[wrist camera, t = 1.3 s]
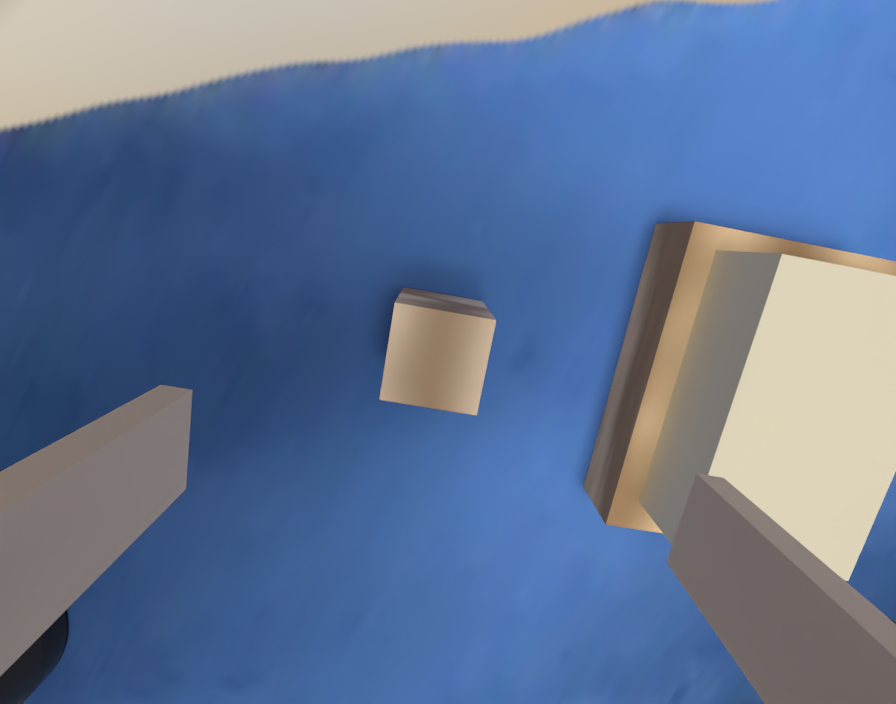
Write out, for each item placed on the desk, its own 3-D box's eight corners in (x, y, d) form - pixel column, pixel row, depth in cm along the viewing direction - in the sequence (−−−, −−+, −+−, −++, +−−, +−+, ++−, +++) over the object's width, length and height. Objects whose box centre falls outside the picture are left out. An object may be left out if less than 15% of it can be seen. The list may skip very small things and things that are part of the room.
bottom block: (581, 483, 34) (605, 524, 29) (652, 223, 30) (694, 221, 25) (741, 508, 35) (790, 552, 30) (831, 259, 31) (906, 263, 26)
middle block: (639, 502, 29) (681, 556, 24) (715, 250, 25) (782, 253, 21) (779, 523, 29) (848, 580, 25) (872, 280, 26) (973, 291, 21)
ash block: (391, 363, 31) (379, 399, 24) (403, 287, 30) (394, 302, 23) (467, 376, 31) (476, 415, 25) (482, 301, 30) (496, 320, 23)
